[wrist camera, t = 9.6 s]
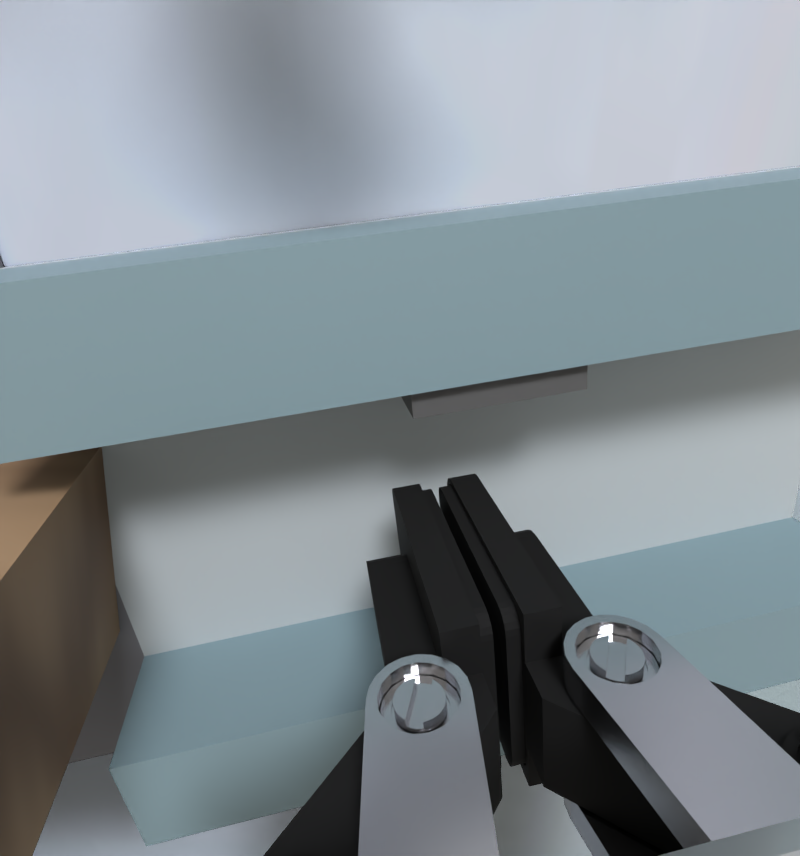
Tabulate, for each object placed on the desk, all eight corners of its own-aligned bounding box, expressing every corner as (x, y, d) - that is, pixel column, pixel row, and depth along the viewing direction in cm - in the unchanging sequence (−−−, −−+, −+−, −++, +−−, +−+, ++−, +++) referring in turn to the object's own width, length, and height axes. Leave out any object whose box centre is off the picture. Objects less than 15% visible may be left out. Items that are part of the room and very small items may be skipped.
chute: (763, 576, 16) (869, 661, 13) (176, 710, 14) (146, 846, 11) (847, 159, 12) (1034, 147, 9) (3, 266, 10) (-123, 298, 7)
